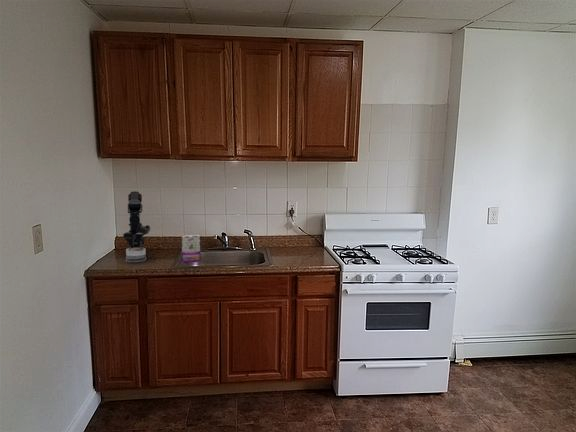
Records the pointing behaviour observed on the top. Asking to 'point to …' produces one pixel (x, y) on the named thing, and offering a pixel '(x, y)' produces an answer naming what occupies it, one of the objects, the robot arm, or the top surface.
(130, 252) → the canister
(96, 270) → the top surface
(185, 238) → the candy bar box
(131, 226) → the robot arm
